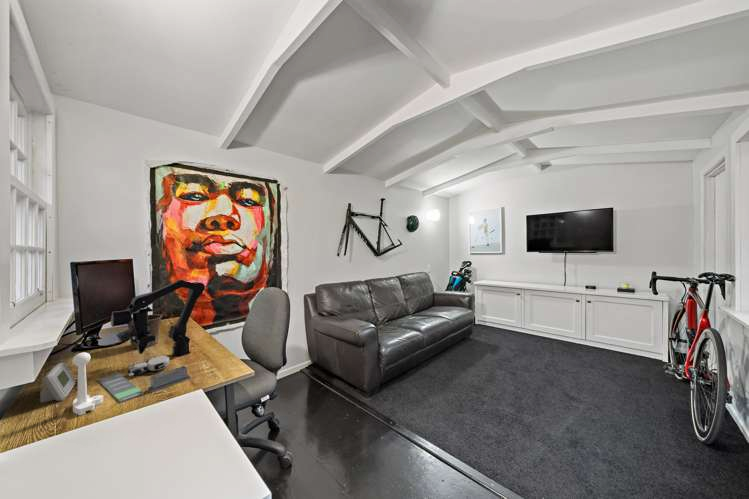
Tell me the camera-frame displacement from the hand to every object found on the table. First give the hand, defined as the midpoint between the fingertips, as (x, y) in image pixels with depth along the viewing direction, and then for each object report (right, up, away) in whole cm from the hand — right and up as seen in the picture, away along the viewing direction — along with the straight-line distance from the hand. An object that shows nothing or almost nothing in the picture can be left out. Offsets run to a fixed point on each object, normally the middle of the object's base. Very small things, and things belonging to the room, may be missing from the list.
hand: (141, 353), depth 134 cm
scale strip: (+9, -6, -21) cm, 24 cm away
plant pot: (-21, -5, +27) cm, 34 cm away
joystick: (+11, -6, -35) cm, 37 cm away
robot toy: (+9, -6, -6) cm, 13 cm away
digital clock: (-9, -6, -27) cm, 29 cm away
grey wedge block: (+28, -6, -19) cm, 34 cm away
